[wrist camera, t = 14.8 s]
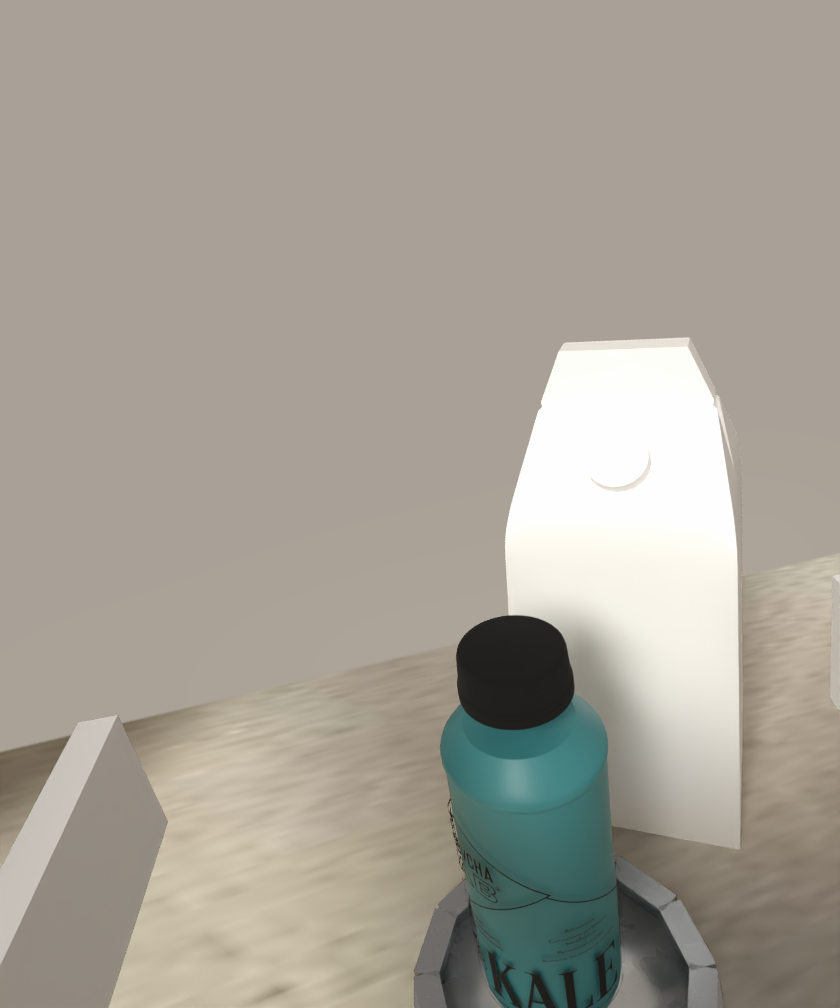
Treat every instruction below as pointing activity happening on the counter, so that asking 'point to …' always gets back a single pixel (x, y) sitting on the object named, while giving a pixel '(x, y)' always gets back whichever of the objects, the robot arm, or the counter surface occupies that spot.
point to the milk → (642, 573)
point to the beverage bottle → (533, 818)
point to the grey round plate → (647, 949)
